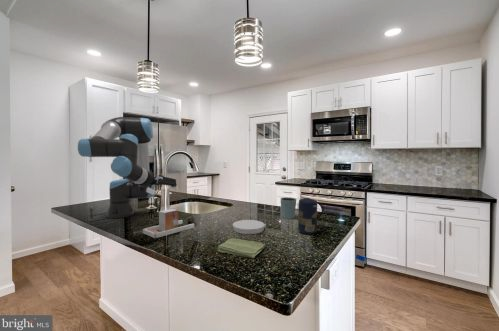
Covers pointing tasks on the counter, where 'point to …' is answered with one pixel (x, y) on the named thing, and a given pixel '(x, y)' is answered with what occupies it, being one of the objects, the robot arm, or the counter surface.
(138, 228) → the counter surface
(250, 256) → the washcloth
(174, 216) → the small box
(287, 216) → the drinking glass
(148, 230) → the guide channel
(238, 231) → the lid
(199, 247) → the counter surface
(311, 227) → the canister
